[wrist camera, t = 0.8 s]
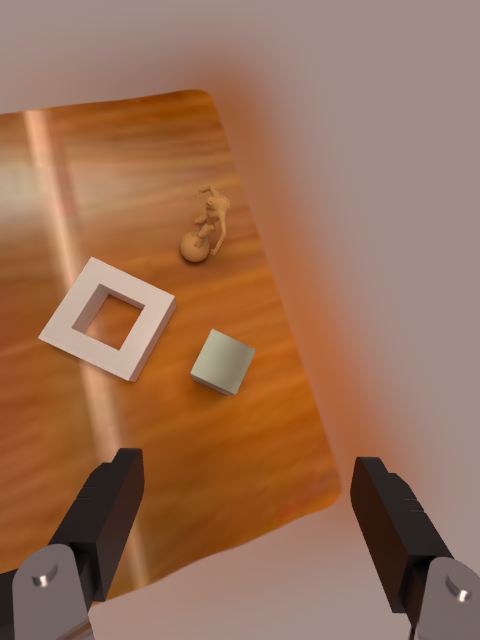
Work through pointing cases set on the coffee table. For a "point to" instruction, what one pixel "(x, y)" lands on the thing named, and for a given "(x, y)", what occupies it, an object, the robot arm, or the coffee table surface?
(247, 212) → the coffee table surface
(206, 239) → the figurine
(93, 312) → the white well block
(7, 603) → the robot arm
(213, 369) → the green metallic peg
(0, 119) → the coffee table surface
